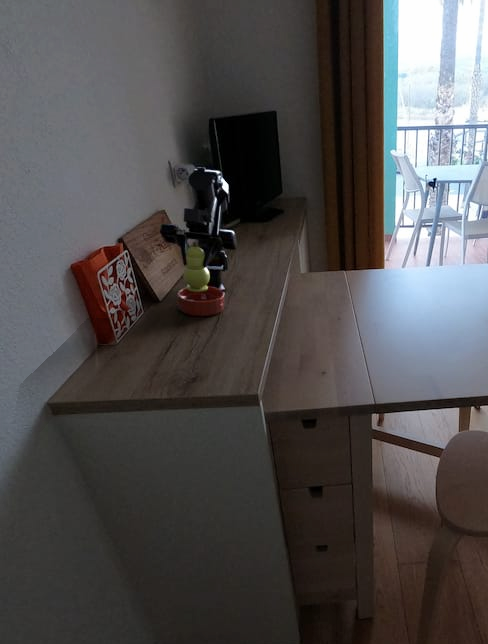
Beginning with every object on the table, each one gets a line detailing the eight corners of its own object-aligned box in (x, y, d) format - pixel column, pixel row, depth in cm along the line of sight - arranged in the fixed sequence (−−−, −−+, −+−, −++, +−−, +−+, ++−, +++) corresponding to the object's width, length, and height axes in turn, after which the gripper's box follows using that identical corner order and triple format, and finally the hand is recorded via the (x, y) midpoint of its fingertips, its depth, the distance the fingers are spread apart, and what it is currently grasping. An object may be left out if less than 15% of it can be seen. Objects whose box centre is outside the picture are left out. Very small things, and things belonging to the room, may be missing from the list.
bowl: (175, 301, 130) (174, 286, 128) (219, 299, 136) (218, 284, 134) (182, 319, 121) (181, 303, 119) (229, 315, 127) (228, 300, 124)
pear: (182, 284, 124) (178, 238, 118) (207, 283, 127) (205, 238, 121) (186, 293, 120) (182, 245, 113) (212, 291, 122) (210, 245, 116)
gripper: (158, 190, 114) (146, 246, 110) (234, 199, 116) (225, 254, 112) (171, 215, 125) (161, 267, 121) (240, 223, 127) (232, 275, 123)
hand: (194, 265), depth 119 cm, fingers closed on pear, 4 cm apart
